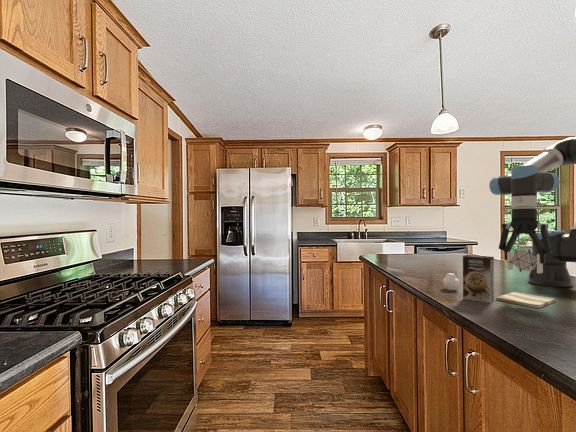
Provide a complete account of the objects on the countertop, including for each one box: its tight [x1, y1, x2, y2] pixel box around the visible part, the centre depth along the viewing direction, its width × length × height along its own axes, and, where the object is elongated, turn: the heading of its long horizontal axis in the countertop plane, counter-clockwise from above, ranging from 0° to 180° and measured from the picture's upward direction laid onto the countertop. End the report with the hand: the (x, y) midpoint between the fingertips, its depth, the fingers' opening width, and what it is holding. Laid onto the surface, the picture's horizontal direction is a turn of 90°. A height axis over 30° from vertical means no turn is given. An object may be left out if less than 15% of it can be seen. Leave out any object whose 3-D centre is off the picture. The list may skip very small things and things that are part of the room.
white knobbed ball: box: [442, 272, 460, 291], centre depth 136 cm, size 6×6×7 cm
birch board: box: [495, 291, 556, 309], centre depth 117 cm, size 14×13×1 cm
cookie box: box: [462, 254, 495, 304], centre depth 120 cm, size 9×6×16 cm
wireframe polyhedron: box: [509, 248, 537, 273], centre depth 117 cm, size 9×8×10 cm
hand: (524, 270), depth 117 cm, fingers closed on wireframe polyhedron, 9 cm apart
